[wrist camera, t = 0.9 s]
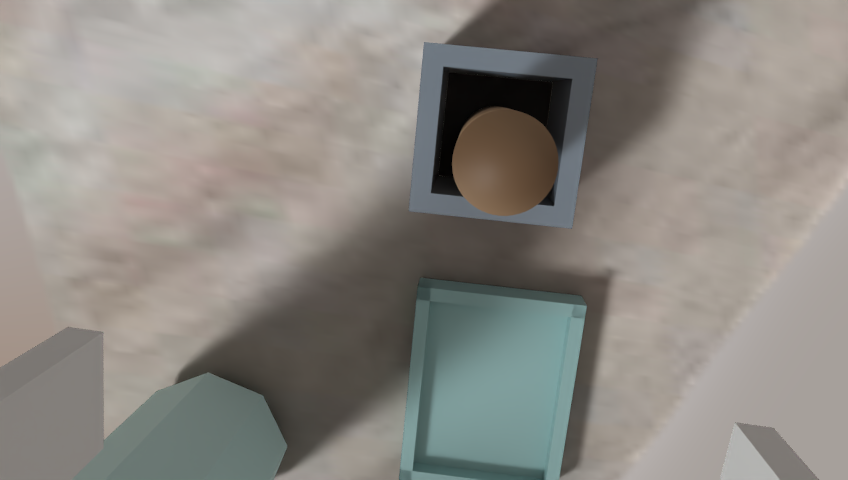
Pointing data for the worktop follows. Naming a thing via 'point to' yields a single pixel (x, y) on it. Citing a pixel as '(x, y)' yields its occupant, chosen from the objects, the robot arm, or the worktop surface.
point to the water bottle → (193, 436)
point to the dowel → (504, 161)
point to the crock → (563, 124)
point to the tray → (489, 382)
